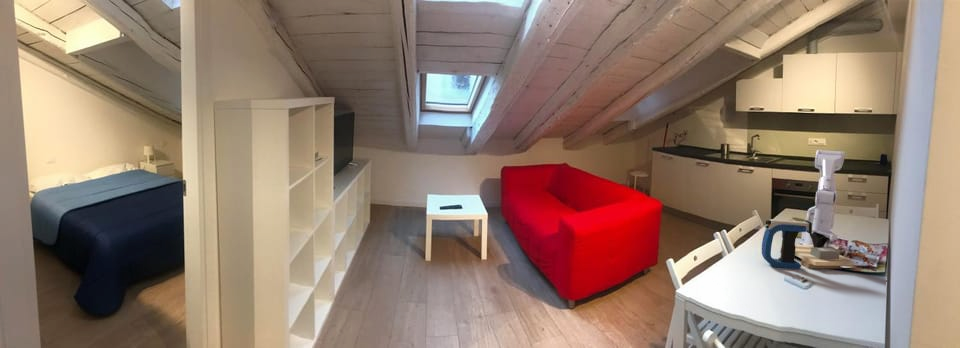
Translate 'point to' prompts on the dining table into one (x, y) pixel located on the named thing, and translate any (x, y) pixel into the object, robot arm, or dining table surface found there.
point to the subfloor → (815, 262)
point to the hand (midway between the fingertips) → (817, 251)
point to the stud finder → (825, 253)
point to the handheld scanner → (783, 241)
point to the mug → (798, 220)
